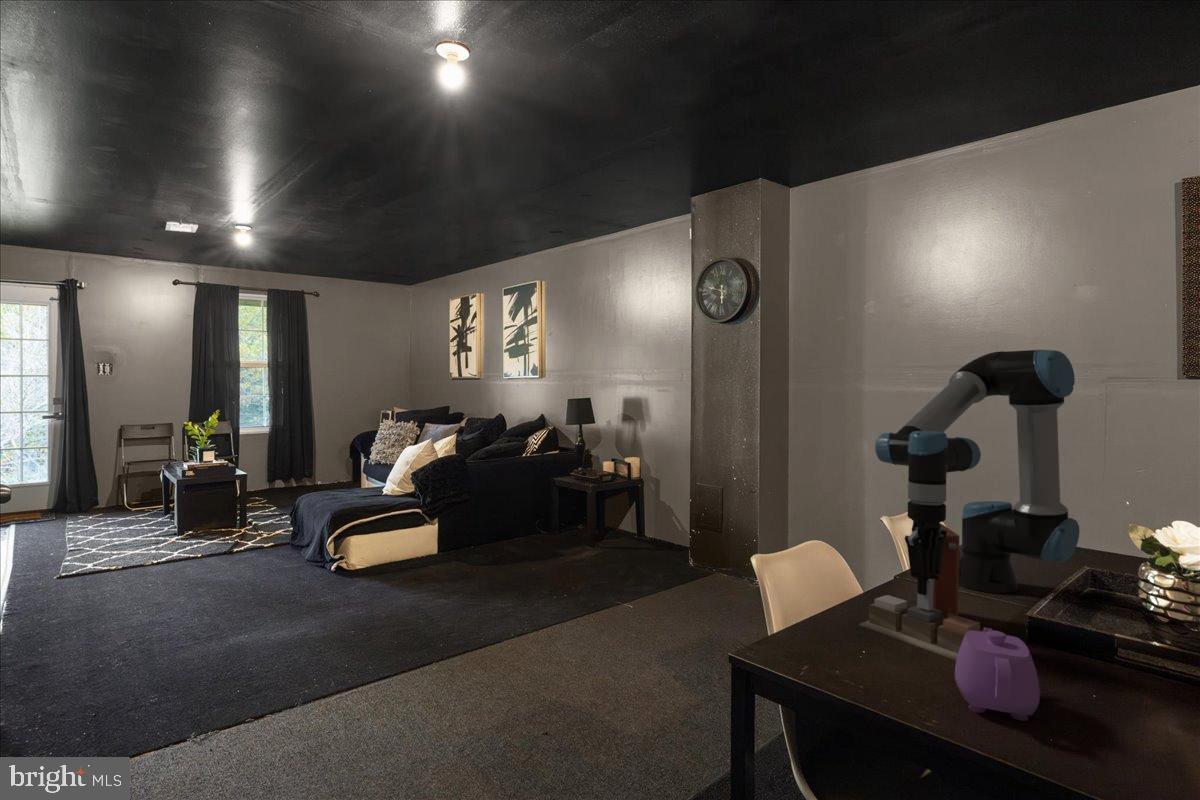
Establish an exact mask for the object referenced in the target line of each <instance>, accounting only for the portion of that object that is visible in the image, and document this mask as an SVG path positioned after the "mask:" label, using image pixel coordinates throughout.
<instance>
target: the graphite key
mask: <svg viewBox="0 0 1200 800" xmlns="http://www.w3.org/2000/svg"><path fill="white" fill-rule="evenodd" d="M907 616H908V617H911V618H914V619H917V620H920V621H923V622H926V623H929V624H930V623H933V622H936V621H938V620H941V619H942V611H939V610H936V609H932V610H926V609H923V608H919V607H917V605H915V606H911V608H909V609H907Z"/></svg>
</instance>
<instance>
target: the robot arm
mask: <svg viewBox="0 0 1200 800" xmlns="http://www.w3.org/2000/svg"><path fill="white" fill-rule="evenodd" d="M1074 372H1075V371H1074V368H1073V364H1072V363H1071V361H1070V359H1069V358H1068V356H1067V355H1066V354H1065V353H1063V352H1062V351H1059V350H1056V349H1055V350H1054V349H1052V350H1051V349H1032V350H1031V349H1029V350H1014V351H1012V350H1010V351H1004V350H1003V351H995V352H989V353H987V354H986V353H985V354H983V355H981V356H979V357H977V358H974V359H972V360H971V361H970V362H968V363H966V364H965V365H963V366H961V367H960V368H959V369H958V370H957V371H956V372H954V373H953V374H952V375H951V377H950V378H949V381H948V383H947V385H946V386H945V387H944V388H943V389H942V390H941V391H940V392H939V393H938V394H936V396H935V397H933V398H932V399H931V400H930V401H929V402H928V403H927V404H925V406H924V407H922V408H921V410H919V411H918V412H917V413H916V414H915V415H914V416H913V417H912V418H911V419H910V420H908V422H906V423H905V424H904V425H903V426H902V427H901V428H900V429H899V430H897V432H895V433H894V432H884V433H882V434H879V436H878V437H877V439H876V441H875V444H874V445H875V446H874V450H875V451H874V452H875V454H876V457H877V459H878V460H879V461H880V462H881V463H886V464H892V465H895V466H905V467H908V469H907V470H908V471H907V472H908V479H907V482H908V484H907V489H908V490H907V498H908V500H909V501H908V502H907V513H906V514H907V518H909V519H910V520H912V526H911V534H910V535H907V534H906V535H905V536H904V541H905V544H906V547H907V553H908V554H907V556H908V562H909V571H910V576H911V577H913V578H914V579H917V591H916V592H917V597H916V598H917V601H916V603H917V604H916V606H917V607H919V608H923V609H926V610H932V609H933V579H936V580H938V579H939V576H936V574H939V573H940V568H941V561H942V554H943V547H944V541H945V538H946V535H947V531H945V530H941V529H940V524H941V523H943V522H945V521H946V519H947V505H946V504H945V502H947V473H954V472H965V471H967V470H971V469H973V468H975V467H977V465H978V464H979V463H980V460H981V455H982V454H981V449H980V447H979V445H978V444H977V443H976V442H975V441H974V440H973V439H971V438H968V437H963V436H961V437H960V436H957V437H948V436H947V434H946V432H945V431H947V430H948V428H950V427H951V426H952V424H954V423H955V422H956V421H957V420H958V419H959V417H961V416H962V415H963V414H964V413H966V411H967V410H968V409H969V408H970V407H971V406H972V405H973V404H978V403H980V402H982V401H983V400H984V399H986V398H987V397H992V396H1001V397H1002V396H1003V397H1004V396H1005V397H1008V404H1009V405H1010V406H1011V407H1012V408H1013V409H1015V411H1016V435H1017V453H1018V454H1017V455H1018V456H1017V457H1018V458H1017V459H1018V461H1017V462H1018V482H1019V501H1018V502H1016V503H1015V504H1014V505H1013V504H1012V503H1011V502H1009V501H999V500H998V501H997V500H993V501H992V500H991V501H989V500H987V501H986V500H984V501H983V500H981V501H973V502H967V503H966V504H965V505H964V506H963V508H962V515H961V516H962V517H961V520H962V521H961V522H962V523H961V527H962V528H961V555H960V566H959V581H958V586H961V587H964V588H966V589H969V590H970V589H971V590H975V591H980V592H986V593H994V594H1008V593H1009V594H1010V593H1014V592H1016V591H1018V585H1019V583H1018V581H1019V580H1018V578H1017V575H1016V571H1015V570H1014V567H1013V564H1012V561H1011V559H1012V558H1011V557H1012V556H1011V555H1012V554H1013V555H1019V556H1024V557H1028V558H1032V559H1036V560H1040V561H1043V562H1051V563H1058V564H1059V563H1060V564H1061V563H1064V562H1066V561H1067V560H1069V559H1070V558H1071V556H1072V555H1073V554H1074V553H1075V550H1076V548H1077V545H1078V543H1079V538H1080V525H1079V524H1078V521H1077V520H1076V519H1074V518H1073V517H1069V509H1068V507H1067V506H1065V505H1064V504H1063V503H1062V502H1061V486H1060V485H1061V484H1060V483H1061V482H1060V481H1061V480H1060V457H1059V455H1060V454H1059V431H1058V429H1059V427H1058V409H1059V408H1061V406H1063V405H1064V404H1065V398H1067V397H1068V396H1070V395H1071V394H1072V393H1073V391H1074V386H1075V379H1076V378H1075V373H1074Z"/></svg>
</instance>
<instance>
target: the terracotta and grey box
mask: <svg viewBox="0 0 1200 800" xmlns="http://www.w3.org/2000/svg"><path fill="white" fill-rule="evenodd" d="M940 529H941V530H945V531H947V535H946V538H945V541H944V547H943V554H942V561H941V568H940V573H939V574H936V576H939V579H938V580H936V579H933V609H936V610H939V611H942V617H944V618H947V619H948V618H951V617H953V616H959V584H958V581H959V566H960V557H961V555H960V554H961V552H960V535H959V534H958V533H957V532H955V531H953V530H952V529H950V528H949V527H947V526H946V525H945V524H942V523H940Z"/></svg>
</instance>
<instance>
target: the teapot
mask: <svg viewBox="0 0 1200 800" xmlns="http://www.w3.org/2000/svg"><path fill="white" fill-rule="evenodd" d="M983 630H984V632H981V631H968V632H966V634H965V636H964V638H963V641H962V644H961V646H960V649H959V652H958V656H957V660H955V666H954V667H955V668H954V679H955V683H956V685H957V688H958V690H959V691H960V692H959V693H960V694H961V696H962V698H963V699H964V700H965V701H966V703H967V704H969V705H968V710H970V711H973V712H975V713H979V714H983V713H985V712H986V710H991V711H997V712H1002V713H1008V714H1010V715H1009V716H1010V717H1011V718H1013V719H1015V720H1017V721H1022V722H1028V720H1029V717H1028V716H1032V715H1033V714H1035V712H1036V711H1037V709H1038V707H1039V705H1040V700H1041V699H1040V698H1041V696H1040V694H1041V692H1040V691H1041V690H1040V684H1039V683H1040V682H1039V677H1038V672H1037V668H1036V665H1035V662H1034V660H1033V656H1032V654H1031V651H1030V649H1029V647H1028V646H1027V645H1026V644H1025V642H1024V641H1023V640H1022V639H1020V638H1019V637H1017V636H1012V635H1007V634H1006V633H1004V632H1002V631H999V630H993V629H992V628H990V627H983Z"/></svg>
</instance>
